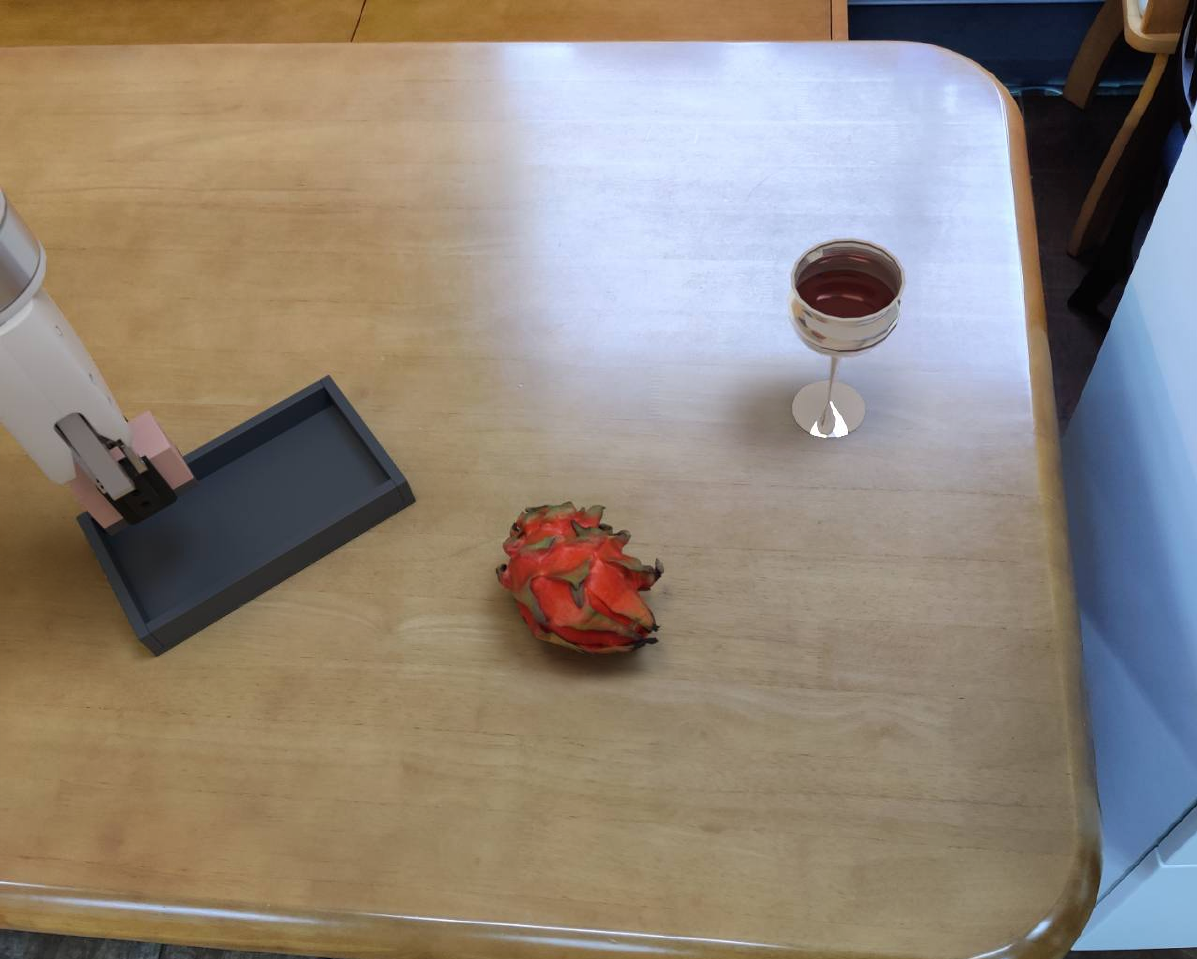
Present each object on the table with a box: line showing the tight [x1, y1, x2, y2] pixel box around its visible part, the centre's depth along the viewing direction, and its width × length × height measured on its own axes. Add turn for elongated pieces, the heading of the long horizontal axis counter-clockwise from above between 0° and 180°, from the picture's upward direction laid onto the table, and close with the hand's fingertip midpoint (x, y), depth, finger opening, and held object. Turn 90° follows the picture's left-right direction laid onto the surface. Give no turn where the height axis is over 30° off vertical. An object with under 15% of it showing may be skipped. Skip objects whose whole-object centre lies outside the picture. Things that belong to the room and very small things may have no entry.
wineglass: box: [787, 237, 907, 438], centre depth 67 cm, size 7×7×12 cm
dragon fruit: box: [495, 501, 665, 658], centre depth 64 cm, size 8×8×12 cm
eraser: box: [67, 410, 199, 536], centre depth 63 cm, size 6×4×4 cm, turn 124°
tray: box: [75, 374, 417, 657], centre depth 71 cm, size 20×12×2 cm, turn 124°
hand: (139, 485), depth 65 cm, fingers closed on eraser, 3 cm apart
